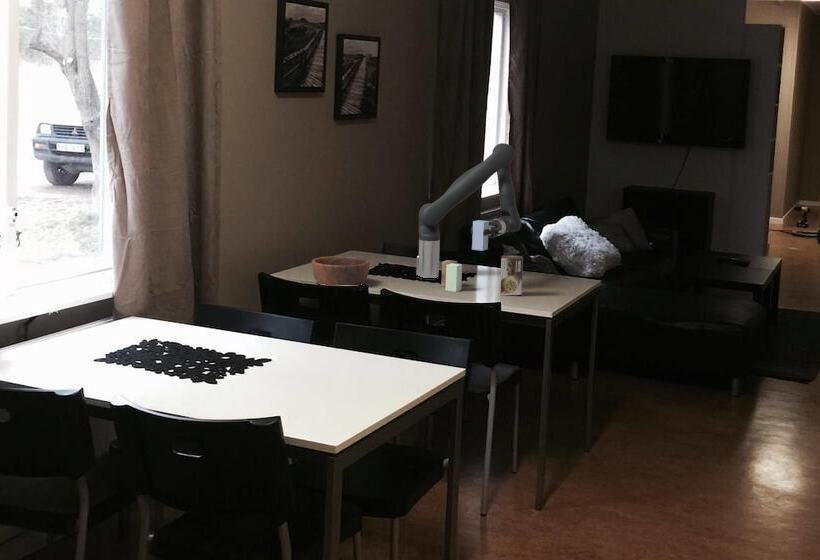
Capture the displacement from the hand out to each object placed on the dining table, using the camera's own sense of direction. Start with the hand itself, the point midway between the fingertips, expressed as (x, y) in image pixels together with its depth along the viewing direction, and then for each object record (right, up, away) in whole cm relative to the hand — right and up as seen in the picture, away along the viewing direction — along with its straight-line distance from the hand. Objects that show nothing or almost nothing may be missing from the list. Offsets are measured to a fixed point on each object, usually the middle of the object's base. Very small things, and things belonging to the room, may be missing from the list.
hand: (478, 232), depth 463 cm
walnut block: (-12, -23, +11) cm, 28 cm away
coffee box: (+14, -26, -2) cm, 30 cm away
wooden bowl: (-59, -22, +10) cm, 64 cm away
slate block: (+1, -7, +4) cm, 8 cm away
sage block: (-10, -24, +4) cm, 27 cm away
